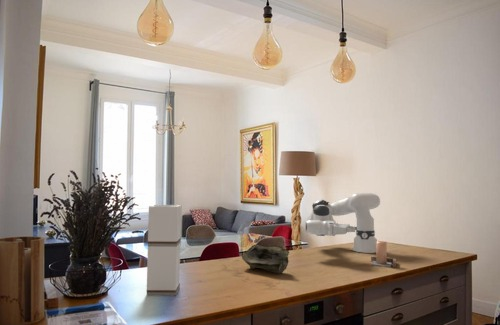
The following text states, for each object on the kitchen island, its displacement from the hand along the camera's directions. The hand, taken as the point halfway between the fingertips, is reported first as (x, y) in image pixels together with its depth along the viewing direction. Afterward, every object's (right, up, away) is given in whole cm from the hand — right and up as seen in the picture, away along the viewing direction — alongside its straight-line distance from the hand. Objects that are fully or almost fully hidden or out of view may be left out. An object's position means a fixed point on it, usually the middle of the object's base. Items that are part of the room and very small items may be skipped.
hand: (356, 229), depth 215 cm
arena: (+14, -19, -6) cm, 24 cm away
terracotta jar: (+13, -18, -6) cm, 23 cm away
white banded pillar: (-97, -14, -63) cm, 116 cm away
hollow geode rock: (-53, -17, -25) cm, 61 cm away
